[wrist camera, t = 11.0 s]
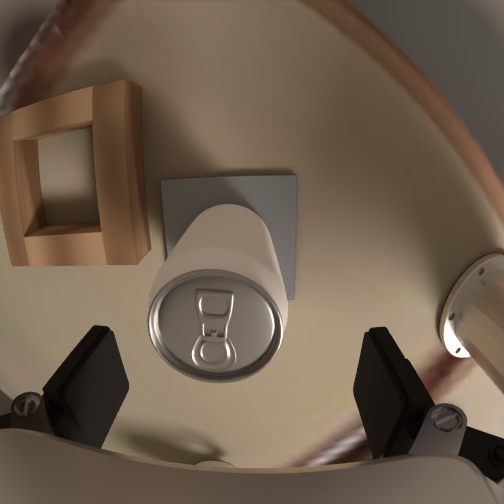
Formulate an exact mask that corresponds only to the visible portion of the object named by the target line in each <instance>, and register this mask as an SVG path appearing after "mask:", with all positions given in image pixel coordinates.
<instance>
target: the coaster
mask: <svg viewBox="0 0 504 504" xmlns="http://www.w3.org/2000/svg"><path fill="white" fill-rule="evenodd" d="M161 192H162V205H163V216H164V227H165V237H166V246H167V255H168V256H169V255H170V253H171V252H172V250H173V249H174V247H175V246H176V245H177V243H178V242H179V240H180V239H181V237H182V236H183V235H184V233H185V232H186V230H187V229H188V228H189V226H190V225H191V224H192V222H193V221H194V220H195V219H196V218H197V216H199V215H200V214H201V213H202V212H204V211H205V210H207V209H209V208H211V207H213V206H217V205H221V204H235V205H240V206H243V207H245V208H248V209H250V210H251V211H253V212H254V213H256V214H257V215H258V216H259V217H260V218H261V219H262V220H263V222H264V223H265V225H266V226H267V228H268V230H269V233H270V236H271V239H272V242H273V246H274V249H275V253H276V257H277V260H278V264H279V268H280V271H281V275H282V279H283V283H284V287H285V291H286V296H287V300H294V293H295V262H296V208H297V175H245V176H217V177H197V178H181V179H166V180H161Z"/></svg>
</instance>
